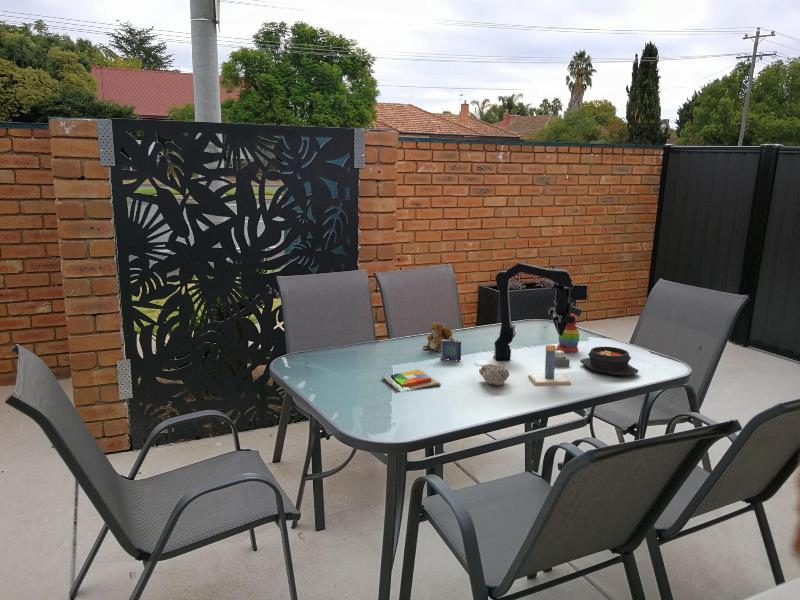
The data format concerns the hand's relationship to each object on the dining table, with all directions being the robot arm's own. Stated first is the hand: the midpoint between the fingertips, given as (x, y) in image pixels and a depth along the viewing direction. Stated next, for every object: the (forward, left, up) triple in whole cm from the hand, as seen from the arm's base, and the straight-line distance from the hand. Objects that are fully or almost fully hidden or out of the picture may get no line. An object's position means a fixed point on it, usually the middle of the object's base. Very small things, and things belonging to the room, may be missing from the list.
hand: (560, 334), depth 258 cm
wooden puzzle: (-66, -20, -14) cm, 70 cm away
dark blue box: (-46, +9, -13) cm, 49 cm away
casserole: (+18, -10, -13) cm, 25 cm away
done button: (0, 0, -12) cm, 12 cm away
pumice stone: (-34, -25, -13) cm, 44 cm away
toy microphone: (-11, -22, -12) cm, 27 cm away
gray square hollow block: (0, 0, -13) cm, 13 cm away
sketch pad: (-11, -22, -13) cm, 28 cm away
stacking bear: (+11, +21, -13) cm, 27 cm away
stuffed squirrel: (-49, +28, -13) cm, 58 cm away
